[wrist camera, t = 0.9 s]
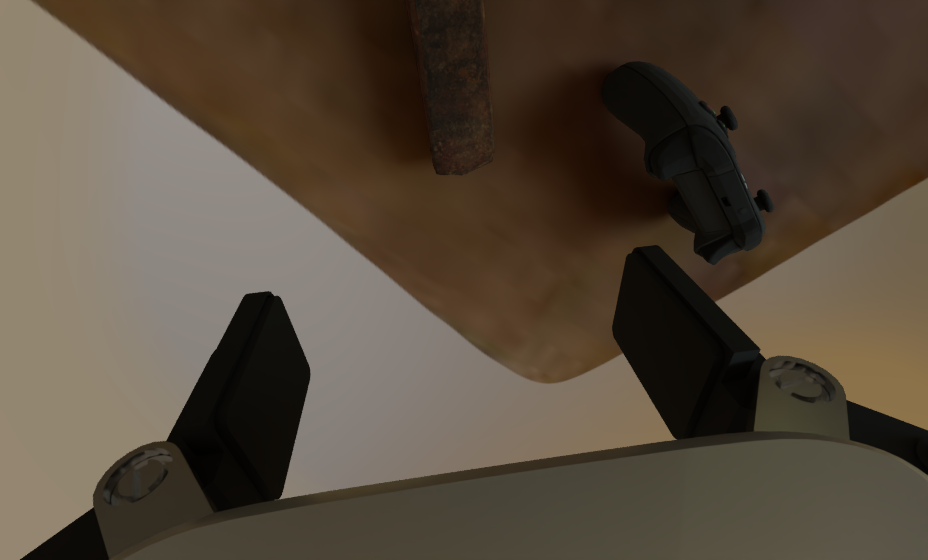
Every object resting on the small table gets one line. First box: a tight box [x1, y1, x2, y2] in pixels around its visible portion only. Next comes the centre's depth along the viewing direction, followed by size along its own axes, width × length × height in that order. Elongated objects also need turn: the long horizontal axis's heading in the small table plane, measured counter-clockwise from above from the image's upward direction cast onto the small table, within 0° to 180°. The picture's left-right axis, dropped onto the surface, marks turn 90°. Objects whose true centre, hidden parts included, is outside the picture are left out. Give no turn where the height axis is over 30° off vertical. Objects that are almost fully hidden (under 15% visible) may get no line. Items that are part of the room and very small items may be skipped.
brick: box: [404, 0, 494, 175], centre depth 24 cm, size 11×4×5 cm, turn 7°
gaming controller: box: [602, 61, 774, 265], centre depth 26 cm, size 14×6×10 cm, turn 40°
